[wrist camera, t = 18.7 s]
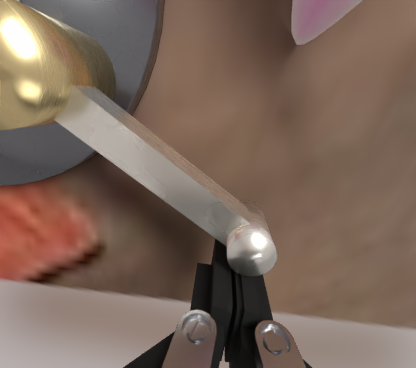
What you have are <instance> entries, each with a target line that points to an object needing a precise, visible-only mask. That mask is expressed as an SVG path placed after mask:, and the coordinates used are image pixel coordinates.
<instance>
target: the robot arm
mask: <svg viewBox="0 0 416 368" xmlns="http://www.w3.org/2000/svg"><path fill="white" fill-rule="evenodd" d="M224 346H225V362H229V368H312V367H311V366H310V365H309V364H308V363H306V362H305V361H304V360H303V359H302V357H301V354H300V352H299V350H298V348H297V345H296V343H295V341H294V338H293V337H292V335H291V334H290V332H289V331H288V330H287V329H286V328H285V327H284V326H283V325H281V324H280V323H277V322H275V321H273V318H272V313H271V309H270V305H269V300H268V296H267V291H266V287H265V283H264V278H263V274H262V275H259V276H244V275H241V274H239V273H237V272H235V271H234V270H233V269H232V268H231V267H230V265H229V263H228V261H227V246H225V245H224V244H223V243H221V242H220V241H218V240H217V239H215V244H214V250H213V257H212V263H211V265H209V264H201V263H198V264H197V270H196V276H195V283H194V289H193V296H192V302H191V309H190V311H189V312H187V313H185V314H184V315H183V316H182V317H181V318H180V320H179V322H178V325H177V327H176V330H175V332H173V333H172V334H170V335H169V336H168V337H166V338H165V339H163V340H162V341H161V342H159V343H158V344H156V345H155V346H153V347H152V348H151V349H149V350H148V351H146V352H145V353H143V354H142V355H141V356H139V357H138V358H136V359H135V360H134V361H132V362H130V363H129V364H128V365H126V366H125V367H123V368H219V363H220V361H221V359H222V355H223V351H224Z"/></svg>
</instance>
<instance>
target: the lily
mask: <svg viewBox="0 0 416 368" xmlns="http://www.w3.org/2000/svg"><path fill="white" fill-rule="evenodd" d="M361 1H363V0H293V2H292V15H291V30H292V35H293V38H294V40H295V42H296V45H304V44H305V43H307V42H309V41H311V40H313V39H314V38H316V37H317V36H318V35H320V34H321V33H322V32H324V31H325V30H326V29H328V28H329V27H330V26H332V25H333V24H334V23H336V22H337V21H338V20H339V19H341V18H342V17H343V16H344V15H346V14H347V13H348V12H349V11H350V10H352V9H353V8H354V7H355V6H357V5H358V4H359V3H360V2H361Z"/></svg>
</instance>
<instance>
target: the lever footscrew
mask: <svg viewBox="0 0 416 368" xmlns="http://www.w3.org/2000/svg"><path fill="white" fill-rule="evenodd" d="M115 90H116V78H115V72H114V68H113V65H112V63H111V60H110V58H109V57H108V55H107V53H106V52H105V50H104V49H103V48H102V47H101V45H100V44H99V43H97V42H96V41H95V40H94V39H93V38H91V37H90V36H88V35H86V34H85V33H83V32H80V31H78V30H76V29H74V28H72V27H70V26H68V25H66V24H64V23H62V22H60V21H58V20H56V19H54V18H52V17H49V16H47V15H45V14H43V13H41V12H39V11H37V10H35V9H33V8H31V7H29V6H27V5H25V4H23V3H21V2H18V1H16V0H0V130H8V129H16V128H23V127H30V126H38V125H45V124H52V123H59V124H60V125H62V126H63V127H64V128H66V129H67V130H69V131H70V132H71V133H73V134H74V135H75V136H77V137H78V138H79V139H81V140H82V141H83V142H85V143H86V144H88V145H89V146H90V147H92V148H93V149H94V150H96V151H97V152H98V153H100V154H101V155H103V156H104V157H105V158H107V159H108V160H109V161H111V162H112V163H113V164H115V165H116V166H118V167H119V168H120V169H122V170H123V171H124V172H126V173H127V174H128V175H130V176H131V177H133V178H134V179H135V180H137V181H138V182H139V183H141V184H142V185H143V186H145V187H146V188H148V189H149V190H150V191H152V192H153V193H154V194H156V195H157V196H158V197H160V198H161V199H163V200H164V201H165V202H167V203H168V204H169V205H171V206H172V207H173V208H175V209H176V210H178V211H179V212H180V213H182V214H183V215H184V216H186V217H187V218H188V219H190V220H191V221H193V222H194V223H195V224H197V225H198V226H199V227H201V228H202V229H203V230H205V231H206V232H208V233H209V234H210V235H212V236H213V237H214V238H216V239H217V240H218V241H220V242H221V243H223V244H224V245H225V246H227V261H228V263H229V265H230V267H231V268H232V269H233V270H234V271H235V272H237V273H239V274H241V275H244V276H259V275H262V274H265V273H266V272H268V271H269V270H271V269H272V267H273V266H274V265H275V263H276V260H277V252H276V249H275V246H274V243H273V240H272V237H271V235H270V232H269V229H268V226H267V223H266V221H265V218H264V215H263V212H262V210H261V208H260V207H259V205H258V204H256V203H255V202H253V201H250V200H240V201H238V200H237V199H236V198H235V197H233V196H232V195H231V194H230V193H228V192H227V191H226V190H224V189H223V188H222V187H221V186H219V185H218V184H217V183H216V182H214V181H213V180H212V179H211V178H209V177H208V176H207V175H206V174H204V173H203V172H202V171H200V170H199V169H198V168H197V167H195V166H194V165H193V164H192V163H190V162H189V161H188V160H187V159H185V158H184V157H183V156H182V155H180V154H179V153H178V152H177V151H175V150H174V149H173V148H171V147H170V146H169V145H168V144H166V143H165V142H164V141H163V140H161V139H160V138H159V137H158V136H156V135H155V134H154V133H153V132H151V131H150V130H149V129H148V128H146V127H145V126H144V125H142V124H141V123H140V122H139V121H137V120H136V119H135V118H134V117H132V116H131V115H130V114H129V113H127V112H126V111H125V110H124V109H122V108H121V107H120V106H118V105H117V104H116V103H115V102H113V101H112V100H113V98H114V95H115Z"/></svg>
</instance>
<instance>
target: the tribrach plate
mask: <svg viewBox="0 0 416 368" xmlns="http://www.w3.org/2000/svg"><path fill="white" fill-rule="evenodd" d="M16 1H18V2H21V3H23V4H25V5H27V6H29V7H31V8H33V9H35V10H37V11H39V12H41V13H43V14H45V15H47V16H49V17H52V18H54V19H56V20H58V21H60V22H62V23H64V24H66V25H68V26H70V27H72V28H74V29H76V30H78V31H80V32H83V33H85V34H86V35H88V36H90V37H91V38H93V39H94V40H95V41H96V42H97V43H99V44H100V45H101V47H102V48H103V49H104V50H105V52H106V53H107V55H108V57H109V58H110V60H111V63H112V65H113V68H114V72H115V78H116V90H115V95H114V98H113V100H112V101H113V102H115V103H116V104H117V105H118V106H120V107H121V108H122V109H124V110H125V111H126V112H127V113H129V114H130V115H131V116H132V114H133V113H134V111H135V110H136V108H137V106H138V104H139V102H140V100H141V98H142V96H143V94H144V92H145V90H146V88H147V85H148V82H149V79H150V76H151V73H152V70H153V67H154V64H155V61H156V57H157V52H158V47H159V42H160V38H161V33H162V25H163V15H164V4H165V0H16ZM97 153H98V152H97V151H96V150H94V149H93V148H92V147H90V146H89V145H88V144H86V143H85V142H83V141H82V140H81V139H79V138H78V137H77V136H75V135H74V134H73V133H71V132H70V131H69V130H67V129H66V128H64V127H63V126H62V125H60V124H59V123H52V124H45V125H38V126H30V127H23V128H16V129H8V130H0V186H4V185H20V184H25V183H30V182H36V181H40V180H43V179H46V178H49V177H51V176H54V175H57V174H60V173H62V172H64V171H66V170H69V169H71V168H73V167H75V166H77V165H79V164H81V163H82V162H84V161H86V160H88V159H90V158H91V157H93V156H94V155H95V154H97Z"/></svg>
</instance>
